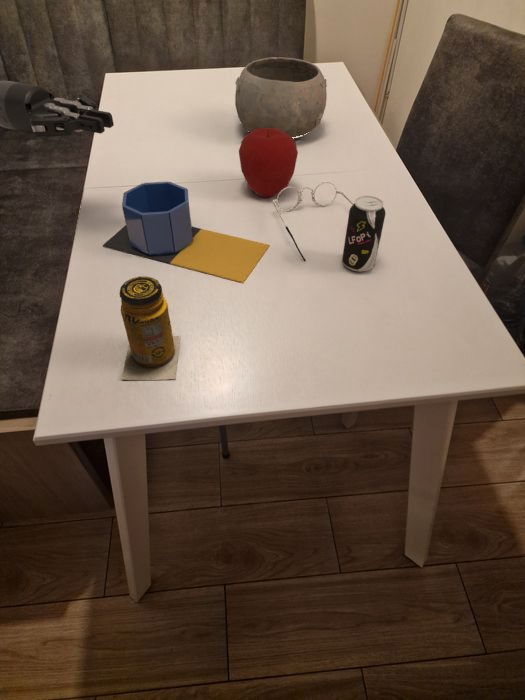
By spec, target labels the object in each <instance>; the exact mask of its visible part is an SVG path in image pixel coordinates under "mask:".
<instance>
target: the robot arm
mask: <svg viewBox="0 0 525 700" xmlns="http://www.w3.org/2000/svg"><path fill="white" fill-rule="evenodd" d="M114 126H115V124H114V119H113V115H112V113H111V112H109V111H104V110H98V107H97V103H96V102H95V101H94V100H92V99H90V98H89V97H88V96H86V95H84V94H77V95H76V100H70V99H67V98H64V97H55V96H54V95H53V94H52V93H51V92H50V91H49V90H48V89H47V88H46V87H44V86H42V85H37V84H30V83H24V82H17V81H14V80H13V81H12V80H0V127H2V128H5V129H7V130H11V131H16V132H20V133H26V134H31V135H34V137H35V138H41V137H42V138H43V137H46V138H47V137H63V136H64V137H66V136H67V137H68V136H70V137H71V136H73V135H74V132H76V133H81V132H90V133H96V134H103V133H104V132H105V130H106V129H105V128H107V129H110V128H112V127H114Z"/></svg>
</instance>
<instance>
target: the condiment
mask: <svg viewBox="0 0 525 700" xmlns="http://www.w3.org/2000/svg"><path fill="white" fill-rule="evenodd" d="M119 298H120V303H121V305H120V314H121V318H122V321H123V325H124V329H125V333H126V337H127V342H128V348H127V353H126V356H125V360H124V365H123V368H122V369H123V370H122V374H121V378H120V380H127V381H158V380H163V381H164V380H176V376H177V368H178V361H179V351H180V343H181V335H173V330H172V329H173V328H172V324H171V319H170V318H171V317H170V312H169V306H168V302H167V299H166V298H165V297H164V292H163V287H162V285H161V284H160V282H159V280H158V279H156V278H154V277H151V276H147V275H146V276H144V275H143V276H137V277H132V278H130V279H128V280H126V281H125V282H123V283H122V285H121V286H120V288H119Z"/></svg>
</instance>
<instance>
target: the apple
mask: <svg viewBox="0 0 525 700" xmlns="http://www.w3.org/2000/svg"><path fill="white" fill-rule="evenodd" d="M238 154H239V155H238V157H239V163H240V171H241V173H242V176H243V177H244V180H245V182H246V184H247V186H248V187H249V189H251V190H252V191H253V192H254V193H256V194H257V196H260V197H261V198H272V197H274V196H276V195H278V194H279V193H280V191H281V190H282V189H284V188H286V187H289V186H288V185H289V183H290V182H291V180H292V178H293V176H294V174H295V169H296V164H297V159H298V154H299V152H298V148H297V145H296V142H295V140H293V138H292V137H290V136H289V135H288V134H287V133H285V132H283V131H281V130H278V129H274V128H260V129H255V130H253V131H251V132H250V133H249V132H247V134H246V135H244V136H243V138H242V140H241V143H240V146H239V148H238ZM286 189H287V188H286ZM284 190H285V189H284ZM280 194H281V193H280Z"/></svg>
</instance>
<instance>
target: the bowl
mask: <svg viewBox="0 0 525 700" xmlns="http://www.w3.org/2000/svg"><path fill="white" fill-rule="evenodd" d="M234 83H235V95H234V101H235V102H234V105H235V111H236V113H237V117H238V120H239V122H240V124H241V126H243V128H244V129H245V130H246V131H247V132H248V131H249V132H251V131H253V130H255V129H260V128H274V129H278V130H281V131H283V132H285V133H287V134H288V135H289V136H290V137H296V136H300V135H304V134H306V133H308V132H310V131H311V132H313V130H315V129H316V128H317V127H318V126H319V125H320V123H321V120H322V119H323V116H324V114H325V110H326V108H327V107H326V106H327V100H328V99H327V98H328V97H327V95H328V93H327V87H328V85H327V79H326V78H325V76H324V75H323V72H322V71H321V69H320V68H319V66H318V65H317V64H314V63H312V62H311V61H308V60H304V59H299V58H293V57H284V56H278V57H277V56H271V57H264V58H260V59H257V60H253V61H251V62H249V63H248V64H247V65H245V66H244V67H243V69H242V70H241V72H240V75H239V76H238V77H237V78H236V80H235V82H234ZM249 132H248V133H249ZM311 132H310V133H311ZM308 134H309V133H308ZM298 139H301V138H300V137H299V138H294V139H293V140H294V141H295V140H298Z"/></svg>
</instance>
